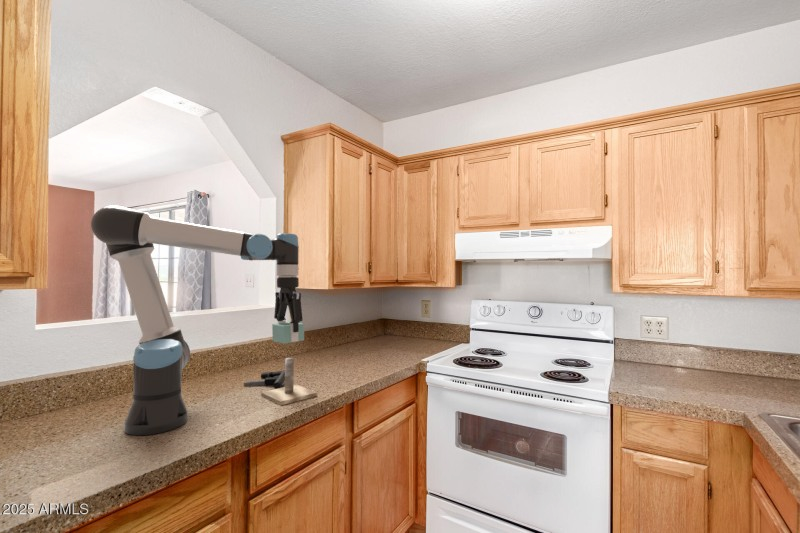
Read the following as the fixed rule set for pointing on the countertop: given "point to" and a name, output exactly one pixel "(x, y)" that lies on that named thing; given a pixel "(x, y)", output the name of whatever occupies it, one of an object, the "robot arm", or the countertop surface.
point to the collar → (285, 332)
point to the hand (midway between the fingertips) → (288, 339)
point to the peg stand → (288, 388)
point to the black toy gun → (269, 379)
